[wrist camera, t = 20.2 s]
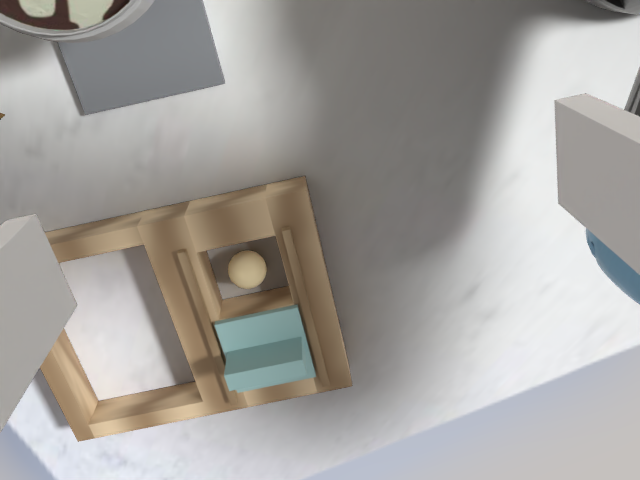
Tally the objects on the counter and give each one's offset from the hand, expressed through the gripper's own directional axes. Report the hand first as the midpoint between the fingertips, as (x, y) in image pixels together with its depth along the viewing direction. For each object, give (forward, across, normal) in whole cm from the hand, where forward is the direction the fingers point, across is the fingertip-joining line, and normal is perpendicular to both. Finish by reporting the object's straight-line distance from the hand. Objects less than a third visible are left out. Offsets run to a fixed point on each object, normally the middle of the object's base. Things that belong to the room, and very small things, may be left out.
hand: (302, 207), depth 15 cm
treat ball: (+29, +7, +15) cm, 33 cm away
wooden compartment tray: (+29, +13, +18) cm, 36 cm away
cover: (+26, +7, +21) cm, 34 cm away
